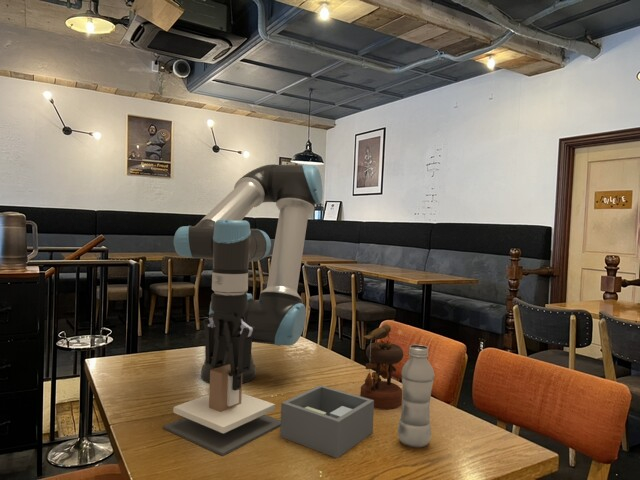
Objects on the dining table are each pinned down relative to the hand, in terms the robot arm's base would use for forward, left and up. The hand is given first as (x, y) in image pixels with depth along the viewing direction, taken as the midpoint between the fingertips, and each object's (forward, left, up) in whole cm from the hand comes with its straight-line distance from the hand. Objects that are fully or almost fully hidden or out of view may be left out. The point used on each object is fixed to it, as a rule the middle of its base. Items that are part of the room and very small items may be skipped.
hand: (225, 401), depth 98 cm
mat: (0, 0, -5) cm, 5 cm away
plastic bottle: (+35, +19, -6) cm, 40 cm away
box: (+19, +11, -5) cm, 23 cm away
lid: (0, 0, -2) cm, 2 cm away
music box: (+19, +36, -6) cm, 41 cm away
